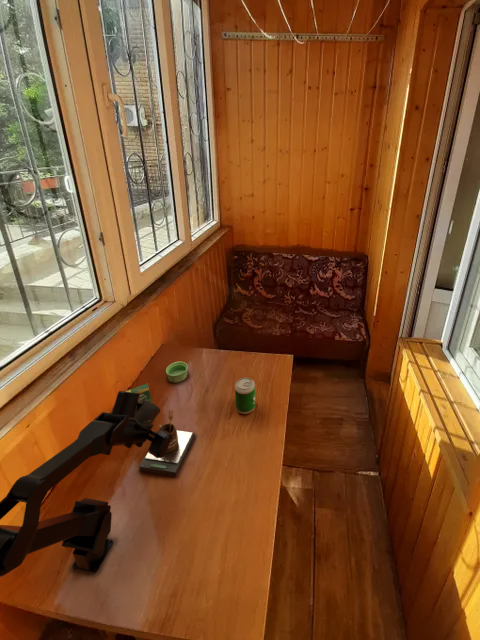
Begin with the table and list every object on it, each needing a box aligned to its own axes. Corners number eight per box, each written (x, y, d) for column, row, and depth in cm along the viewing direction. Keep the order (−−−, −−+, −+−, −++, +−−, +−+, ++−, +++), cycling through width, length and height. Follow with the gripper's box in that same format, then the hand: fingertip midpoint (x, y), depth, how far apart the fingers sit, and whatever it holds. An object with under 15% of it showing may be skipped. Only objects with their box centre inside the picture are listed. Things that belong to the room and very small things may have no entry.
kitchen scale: (176, 476, 95) (175, 471, 94) (139, 471, 97) (138, 465, 96) (195, 436, 108) (194, 431, 107) (163, 432, 110) (162, 426, 109)
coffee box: (130, 424, 113) (124, 396, 108) (130, 418, 115) (124, 390, 110) (154, 414, 117) (149, 387, 112) (153, 409, 119) (148, 382, 114)
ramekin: (167, 371, 139) (166, 363, 137) (188, 367, 141) (187, 359, 140) (166, 385, 131) (165, 377, 129) (188, 381, 133) (187, 373, 132)
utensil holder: (155, 451, 100) (150, 423, 96) (168, 434, 106) (163, 407, 102) (170, 456, 99) (166, 428, 94) (182, 439, 104) (179, 412, 100)
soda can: (252, 417, 116) (251, 392, 112) (233, 413, 117) (231, 388, 113) (258, 401, 123) (257, 377, 119) (240, 398, 124) (238, 374, 120)
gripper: (162, 415, 84) (195, 417, 97) (119, 390, 92) (154, 395, 105) (141, 461, 80) (179, 456, 93) (98, 430, 88) (137, 430, 101)
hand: (162, 432), depth 98 cm, fingers open, 9 cm apart
